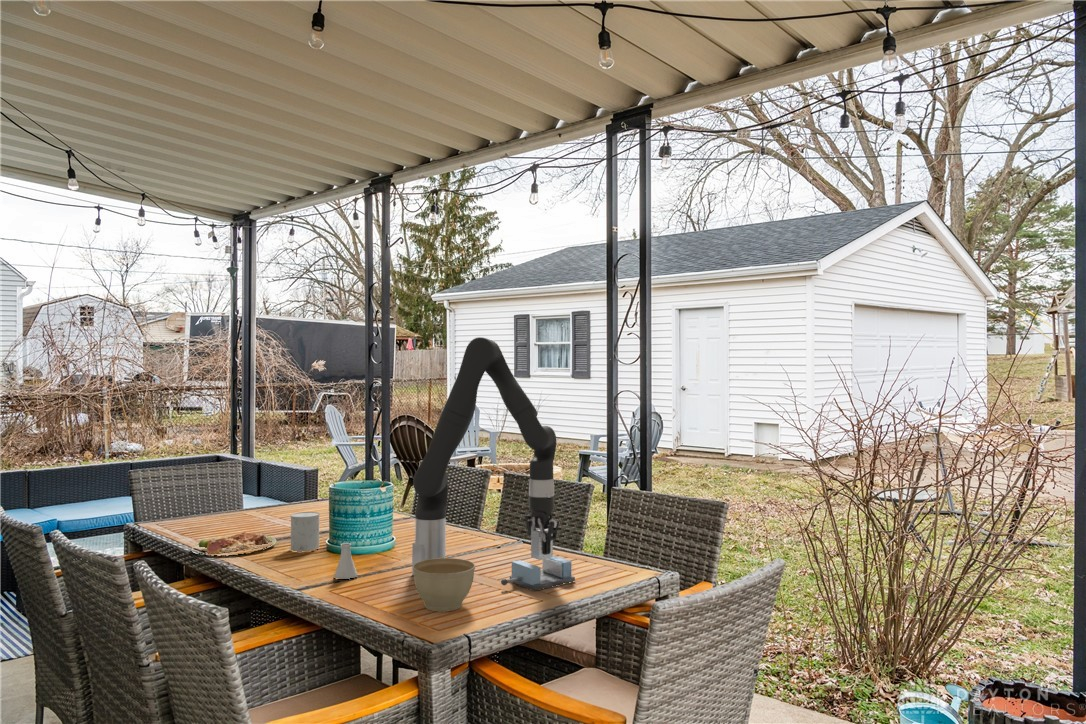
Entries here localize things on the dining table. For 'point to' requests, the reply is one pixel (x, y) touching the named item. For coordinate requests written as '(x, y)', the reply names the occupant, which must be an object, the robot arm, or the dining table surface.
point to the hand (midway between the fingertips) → (541, 552)
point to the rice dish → (235, 543)
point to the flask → (345, 564)
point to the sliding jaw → (524, 573)
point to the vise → (551, 574)
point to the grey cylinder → (304, 531)
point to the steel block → (539, 545)
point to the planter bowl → (443, 582)
